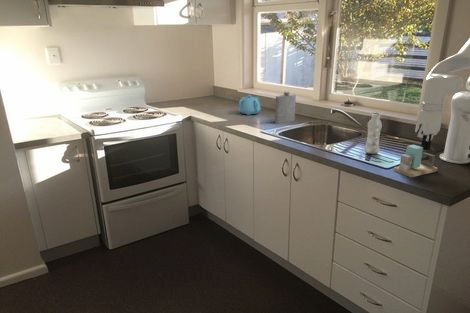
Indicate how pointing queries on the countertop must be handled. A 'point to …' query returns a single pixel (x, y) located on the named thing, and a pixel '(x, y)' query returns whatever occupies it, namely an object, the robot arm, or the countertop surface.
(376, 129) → the plastic bottle
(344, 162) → the countertop surface
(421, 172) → the cord board
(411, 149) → the sleeve
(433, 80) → the robot arm
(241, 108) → the decorative pot
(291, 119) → the hip flask
